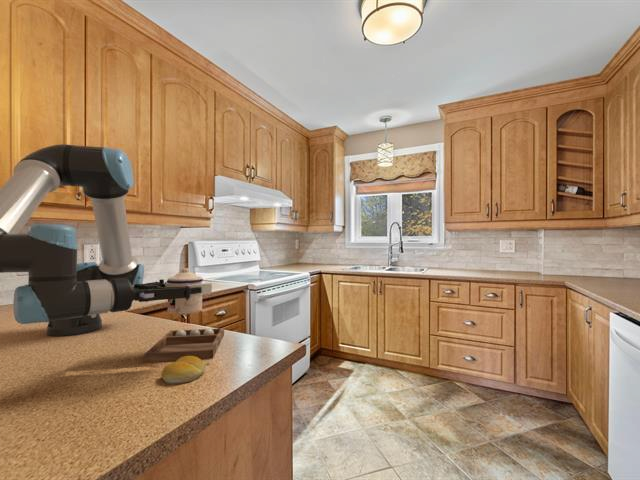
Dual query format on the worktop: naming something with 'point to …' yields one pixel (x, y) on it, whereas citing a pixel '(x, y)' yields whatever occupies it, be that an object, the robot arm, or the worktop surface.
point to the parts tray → (185, 346)
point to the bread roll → (183, 370)
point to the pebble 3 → (208, 332)
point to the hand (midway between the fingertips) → (199, 286)
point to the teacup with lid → (182, 304)
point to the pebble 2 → (195, 332)
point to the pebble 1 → (180, 333)
